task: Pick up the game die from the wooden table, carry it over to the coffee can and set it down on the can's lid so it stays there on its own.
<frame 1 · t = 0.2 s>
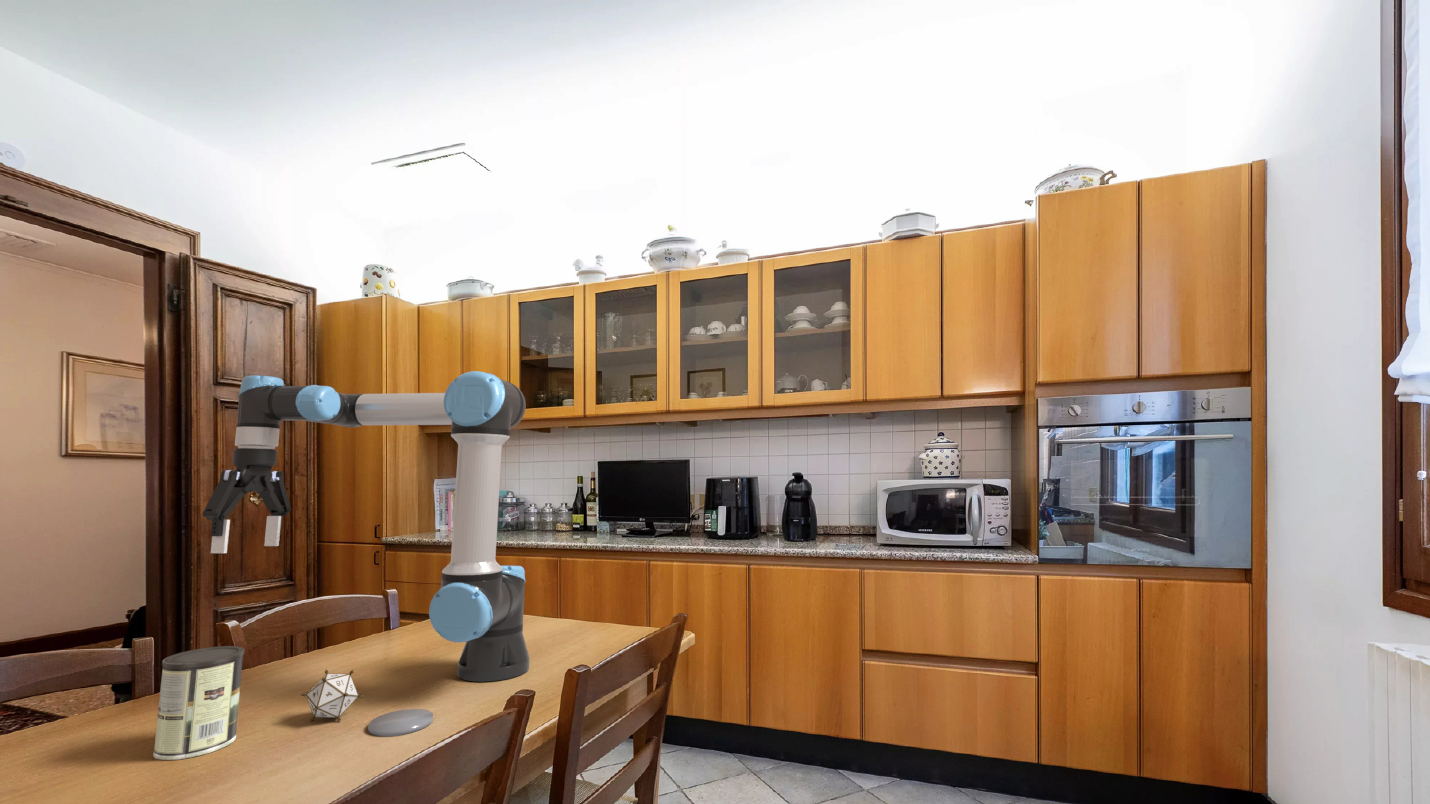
hand: (246, 549, 128), 28 cm above the table, tool pointing down, fingers open, 13 cm apart
game die: (330, 720, 108), on the table
coffee can: (195, 747, 97), on the table
slate coaster: (401, 724, 106), on the table
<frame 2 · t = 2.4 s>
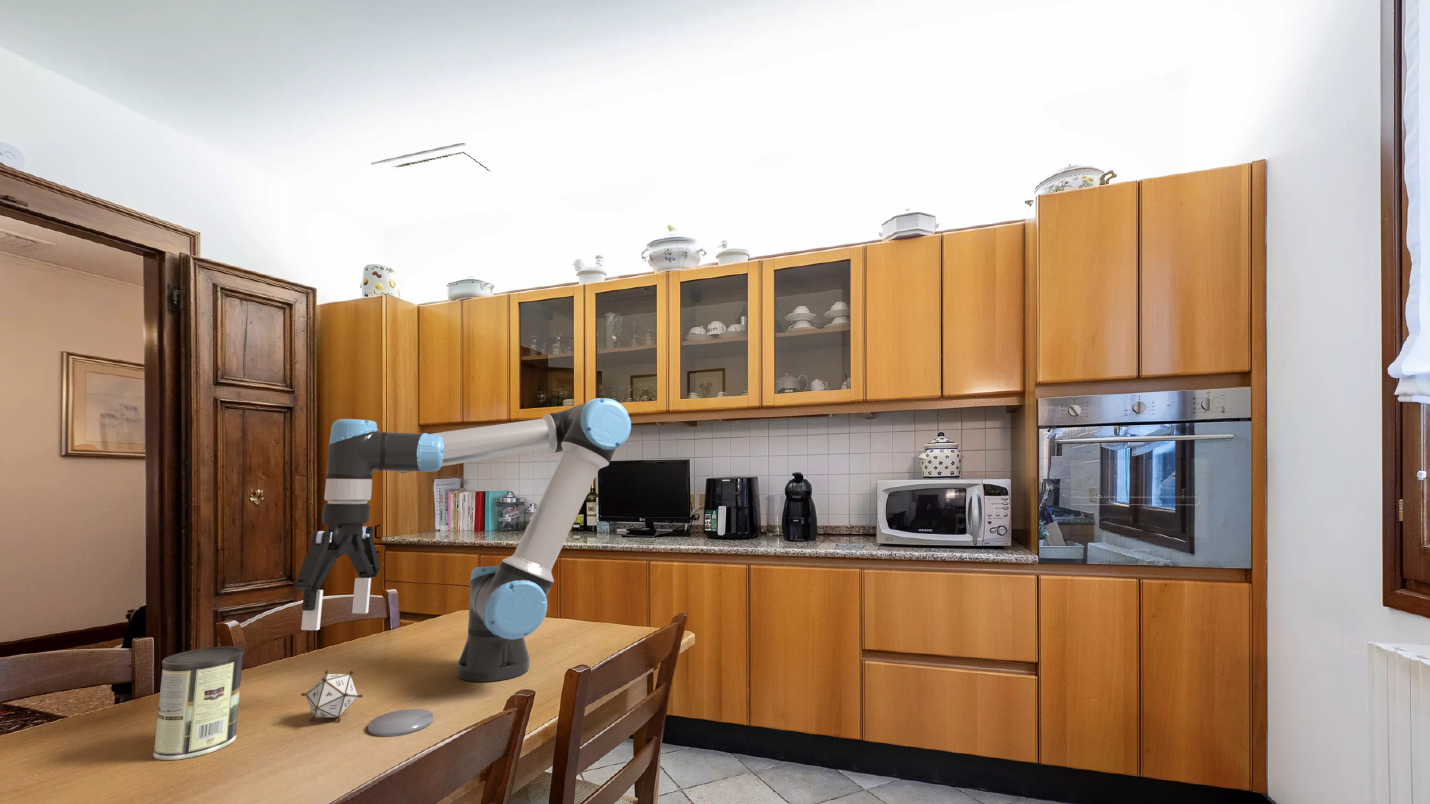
hand: (336, 621, 110), 17 cm above the table, tool pointing down, fingers open, 13 cm apart
nothing on the table moved.
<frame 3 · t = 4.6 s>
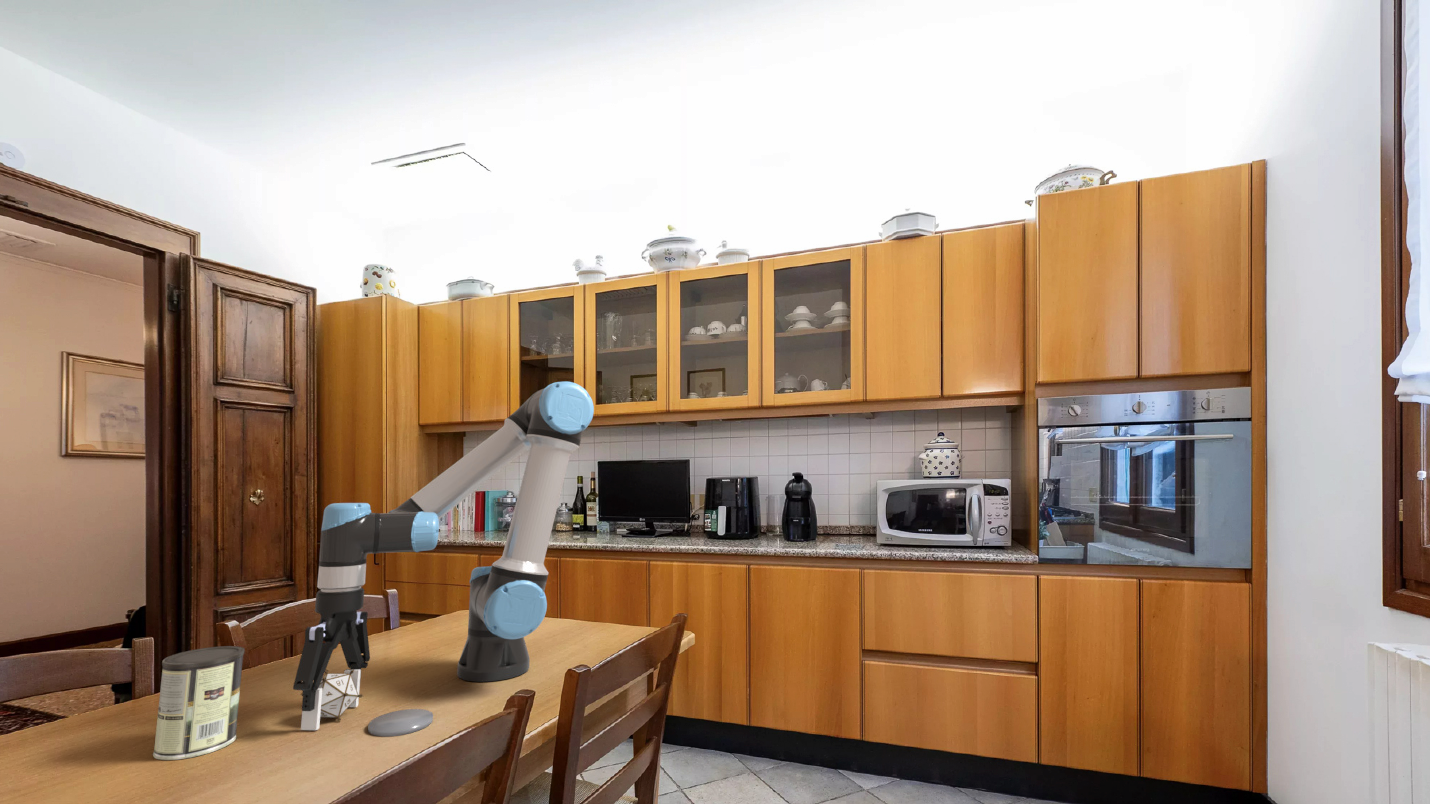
hand: (330, 717, 108), 0 cm above the table, tool pointing down, fingers closed on game die, 10 cm apart
game die: (330, 719, 108), on the table, touching gripper
everything else where it was.
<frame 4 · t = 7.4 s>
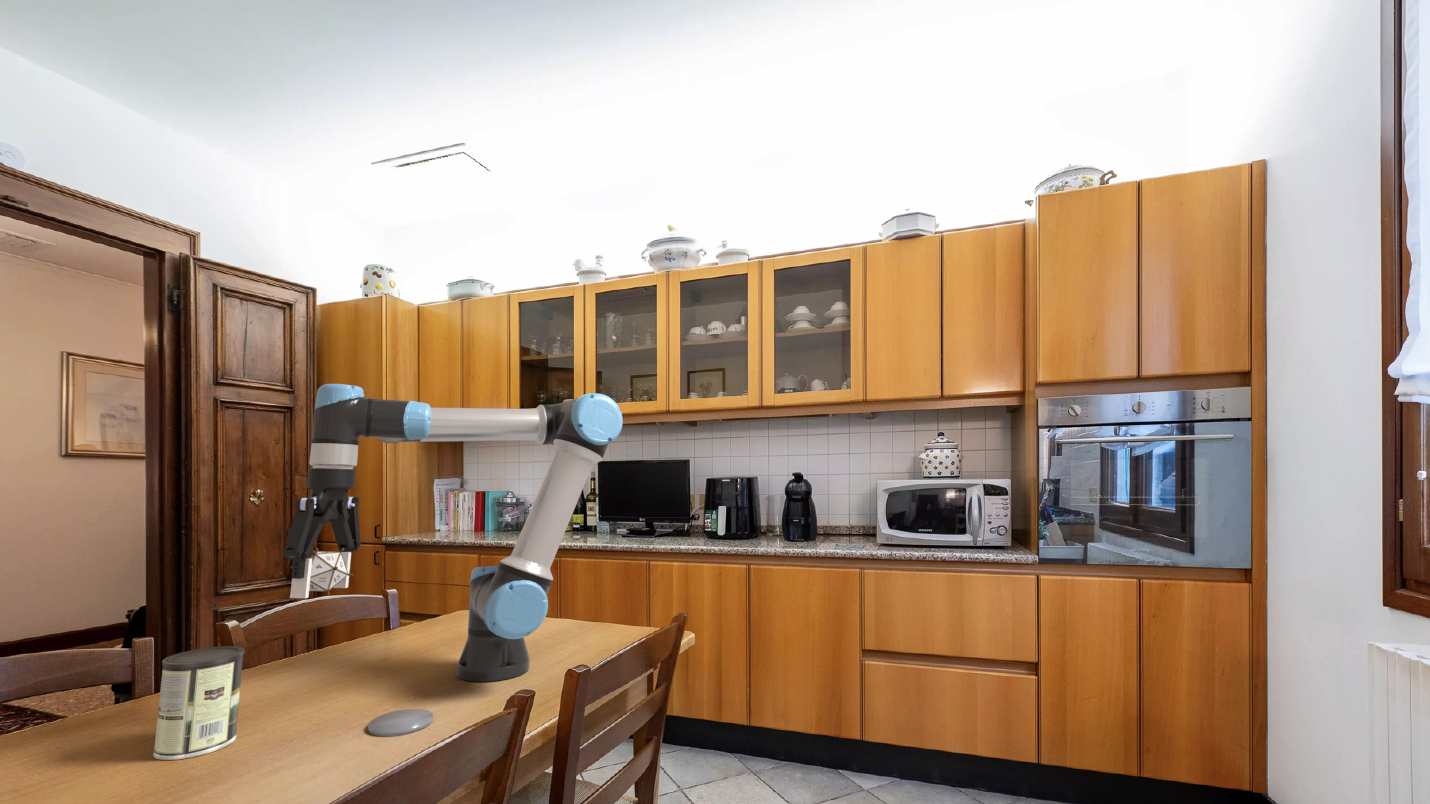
hand: (320, 592, 109), 22 cm above the table, tool pointing down, fingers closed on game die, 10 cm apart
game die: (320, 595, 109), point 22 cm above the table, touching gripper
everything else where it was.
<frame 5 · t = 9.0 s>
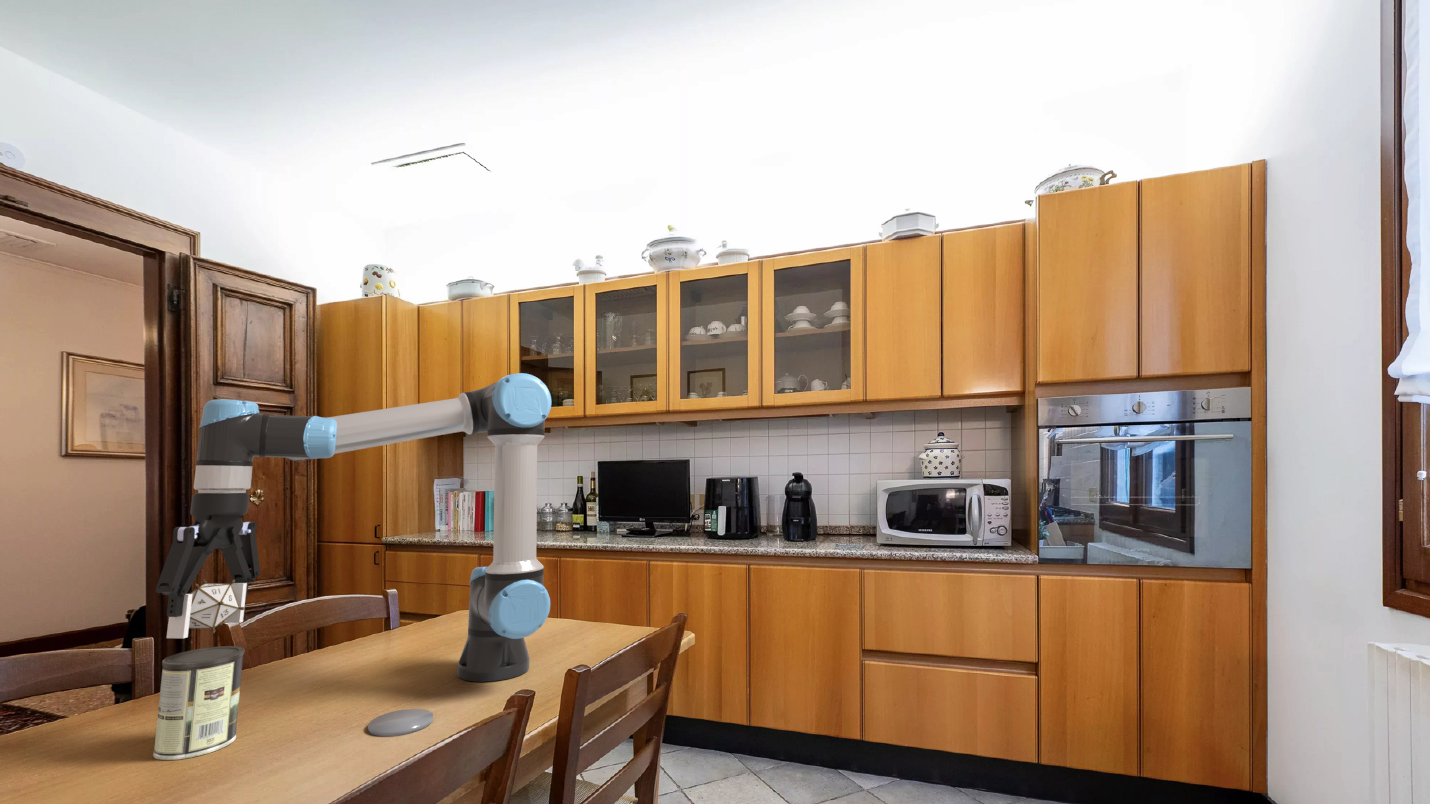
hand: (206, 629, 99), 18 cm above the table, tool pointing down, fingers closed on game die, 10 cm apart
game die: (206, 632, 99), point 17 cm above the table, touching gripper
everything else where it was.
when the fingers open (16 cm above the table, at t = 10.2 s): game die drops 2 cm, resting on coffee can.
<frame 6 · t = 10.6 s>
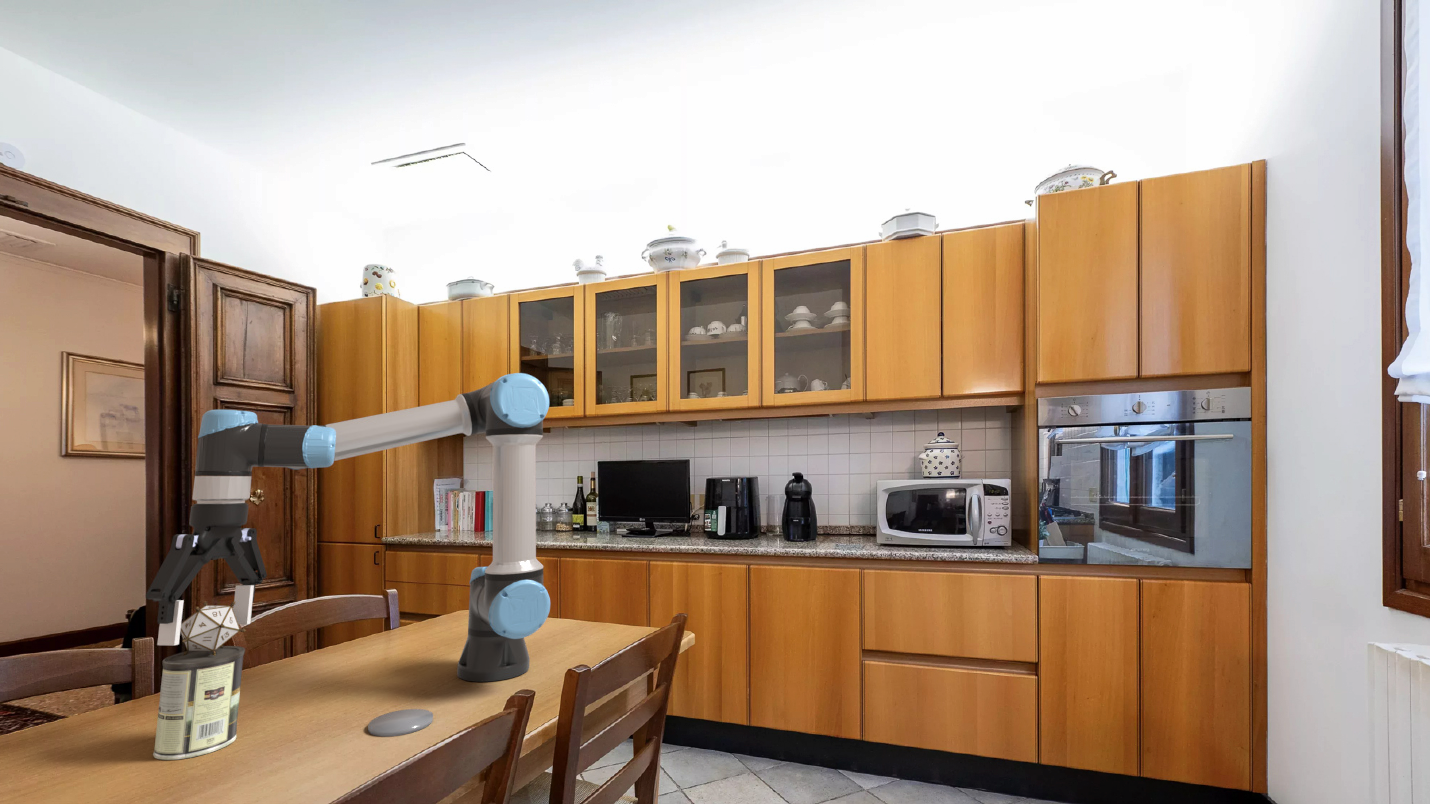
hand: (207, 633, 99), 17 cm above the table, tool pointing down, fingers open, 13 cm apart
game die: (206, 654, 99), point 14 cm above the table, touching coffee can
coffee can: (195, 747, 97), on the table, touching game die
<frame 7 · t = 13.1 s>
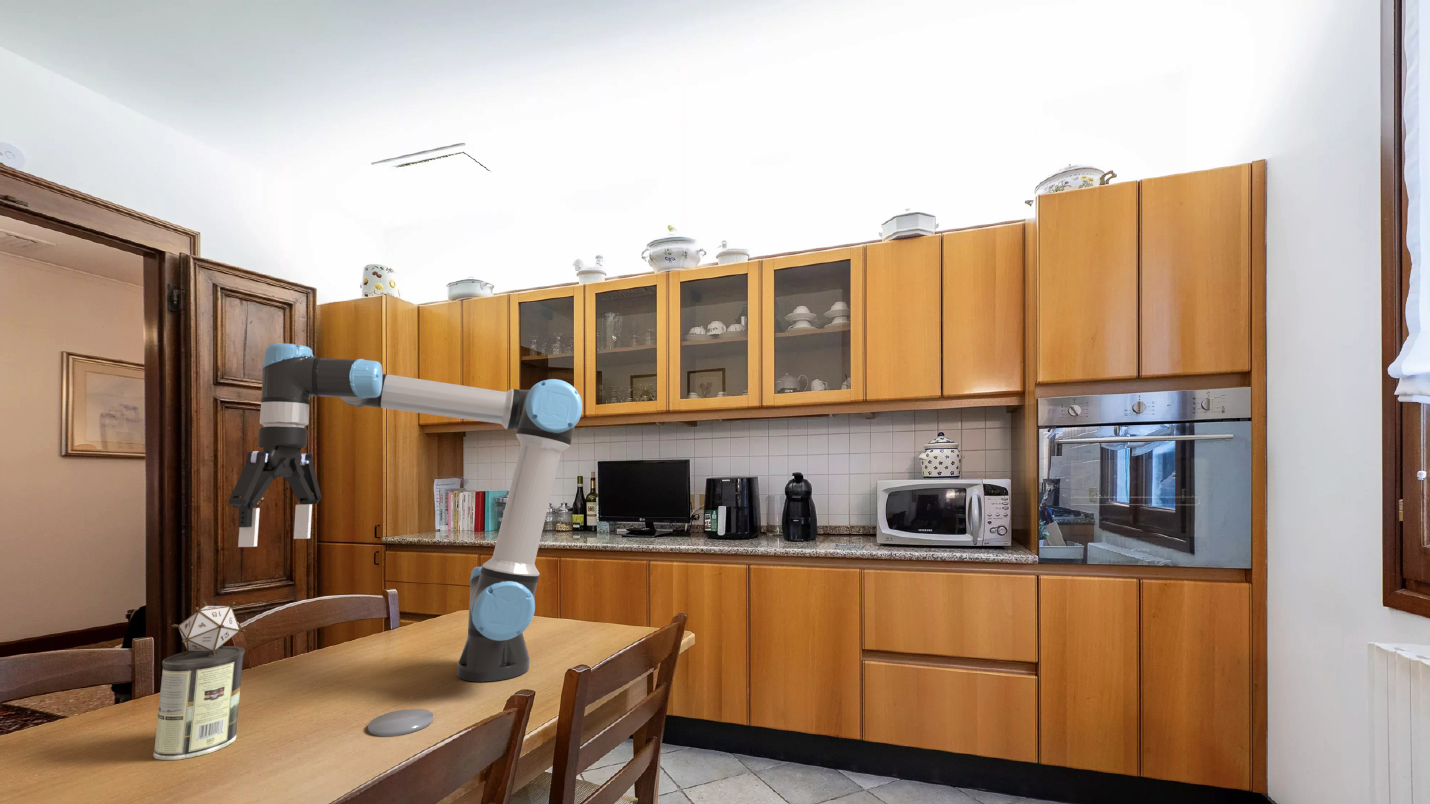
hand: (276, 542, 111), 31 cm above the table, tool pointing down, fingers open, 13 cm apart
nothing on the table moved.
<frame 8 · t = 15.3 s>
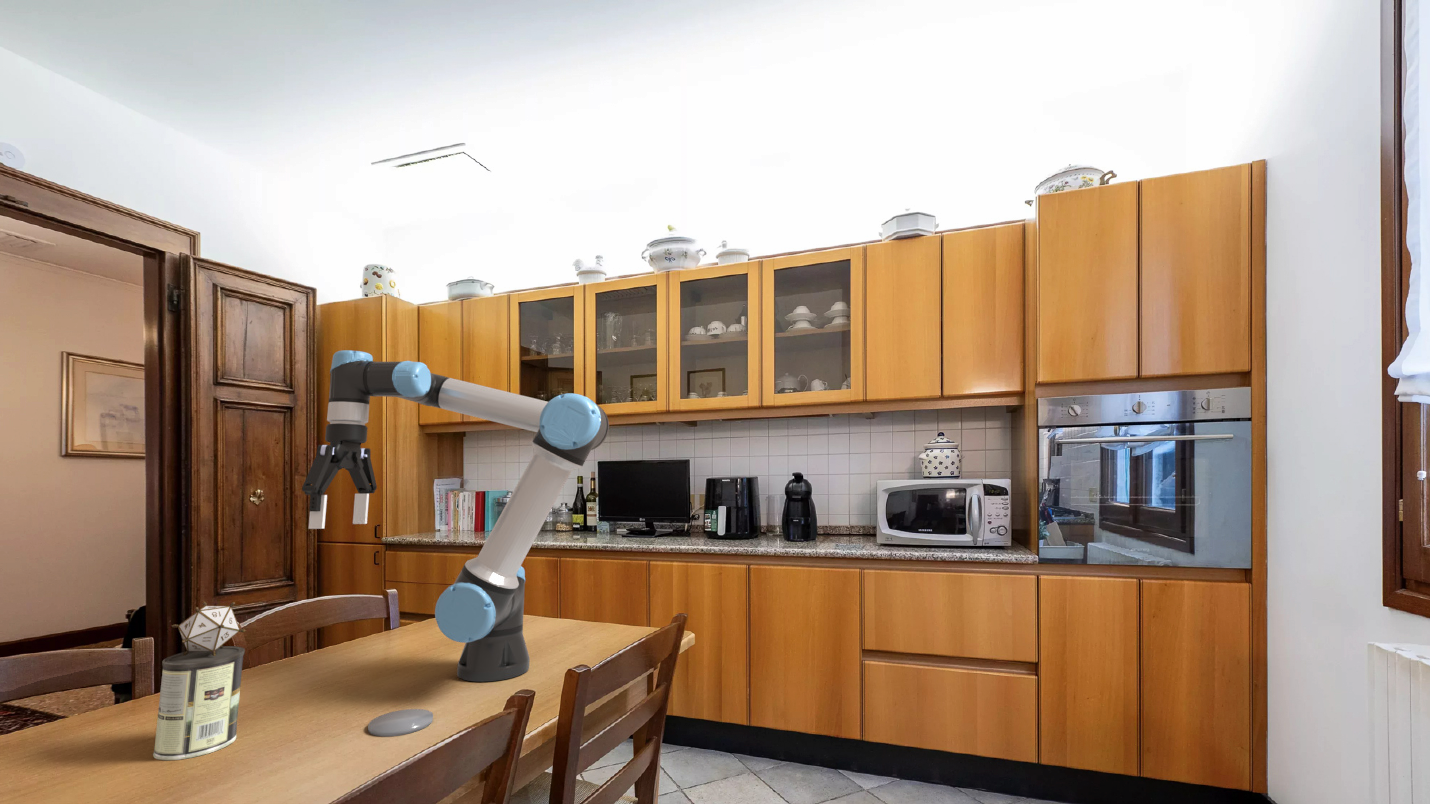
hand: (339, 526, 126), 33 cm above the table, tool pointing down, fingers open, 13 cm apart
nothing on the table moved.
at the end: game die 0.3 cm off-centre on the coffee can, point 14.1 cm above the coffee can's base; game die tilted 0°; the gripper is holding nothing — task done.
